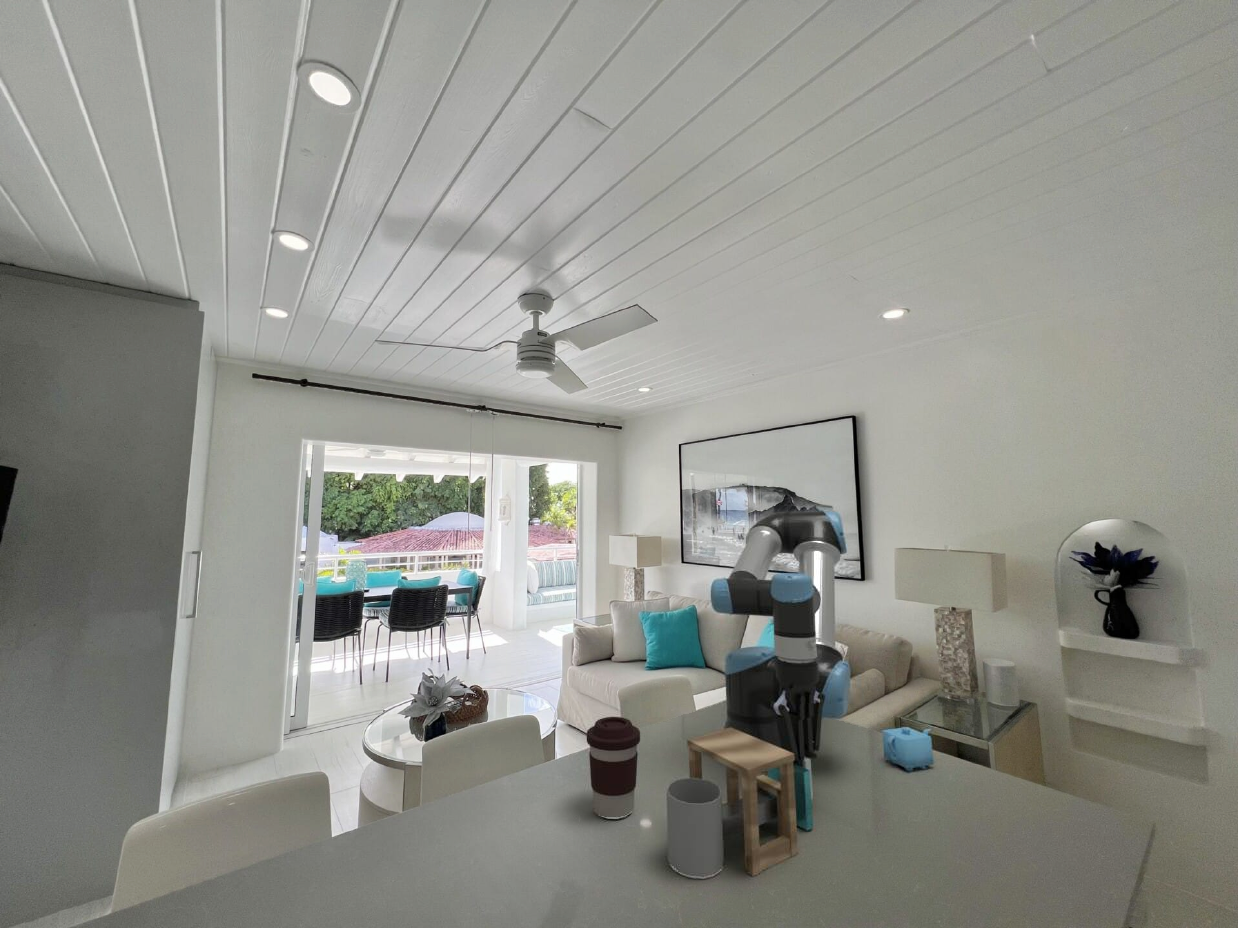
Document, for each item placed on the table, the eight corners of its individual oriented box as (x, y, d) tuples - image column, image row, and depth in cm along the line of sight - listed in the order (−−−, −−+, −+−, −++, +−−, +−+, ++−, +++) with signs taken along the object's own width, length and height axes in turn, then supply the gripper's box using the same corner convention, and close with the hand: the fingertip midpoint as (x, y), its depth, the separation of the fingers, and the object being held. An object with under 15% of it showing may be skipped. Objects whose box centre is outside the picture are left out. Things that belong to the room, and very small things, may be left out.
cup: (719, 884, 72) (717, 807, 73) (663, 873, 75) (661, 799, 76) (726, 850, 80) (724, 781, 81) (675, 840, 82) (673, 774, 84)
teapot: (921, 755, 115) (918, 719, 116) (946, 766, 109) (942, 729, 110) (879, 762, 111) (876, 725, 112) (901, 774, 105) (898, 735, 107)
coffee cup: (649, 803, 94) (647, 717, 97) (627, 830, 86) (626, 735, 88) (601, 792, 99) (601, 710, 101) (576, 817, 90) (576, 727, 92)
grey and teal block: (774, 807, 92) (772, 753, 93) (812, 827, 85) (809, 770, 87) (700, 839, 82) (698, 779, 84) (736, 865, 76) (734, 799, 77)
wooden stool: (689, 832, 85) (687, 739, 87) (745, 809, 92) (741, 724, 94) (753, 877, 73) (748, 769, 76) (811, 847, 80) (805, 749, 83)
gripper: (790, 667, 88) (798, 816, 84) (835, 657, 95) (844, 794, 91) (756, 659, 94) (762, 797, 90) (801, 650, 101) (808, 778, 97)
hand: (803, 796), depth 91 cm, fingers closed
